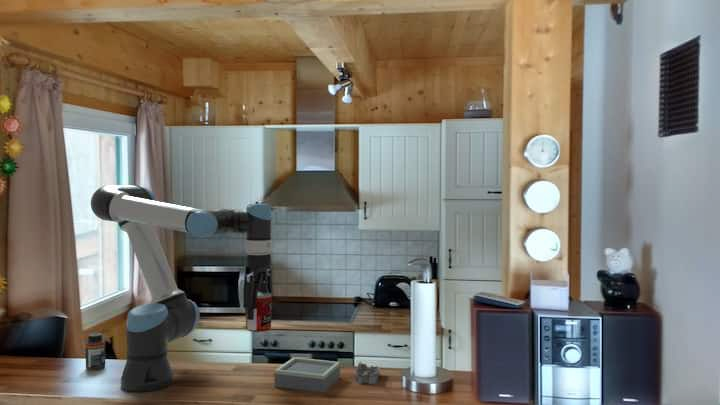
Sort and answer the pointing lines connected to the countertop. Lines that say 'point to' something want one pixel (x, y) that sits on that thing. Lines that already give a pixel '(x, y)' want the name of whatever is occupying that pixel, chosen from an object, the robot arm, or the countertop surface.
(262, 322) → the canned food
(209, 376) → the countertop surface
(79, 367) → the countertop surface
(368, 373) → the egg carton
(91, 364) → the supplement bottle
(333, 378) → the tray
